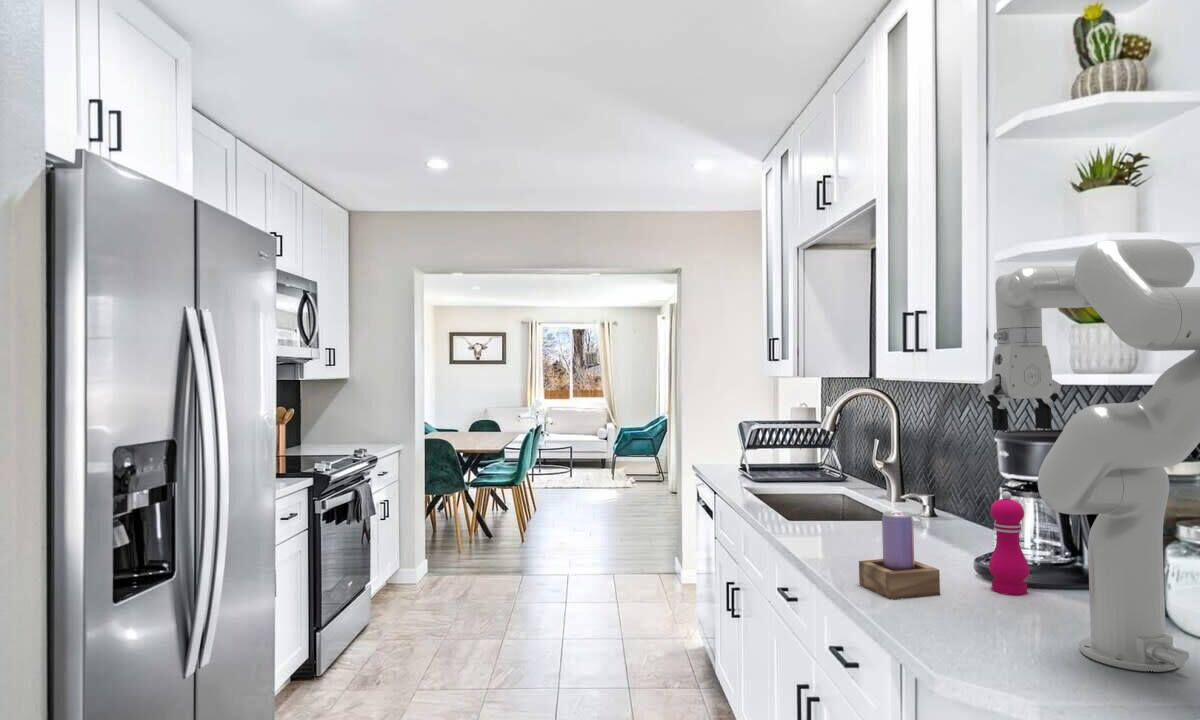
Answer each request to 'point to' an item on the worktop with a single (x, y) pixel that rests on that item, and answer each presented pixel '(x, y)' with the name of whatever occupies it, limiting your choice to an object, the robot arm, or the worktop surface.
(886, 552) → the beverage can
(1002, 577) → the pepper mill
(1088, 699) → the worktop surface
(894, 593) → the holder
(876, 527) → the worktop surface
